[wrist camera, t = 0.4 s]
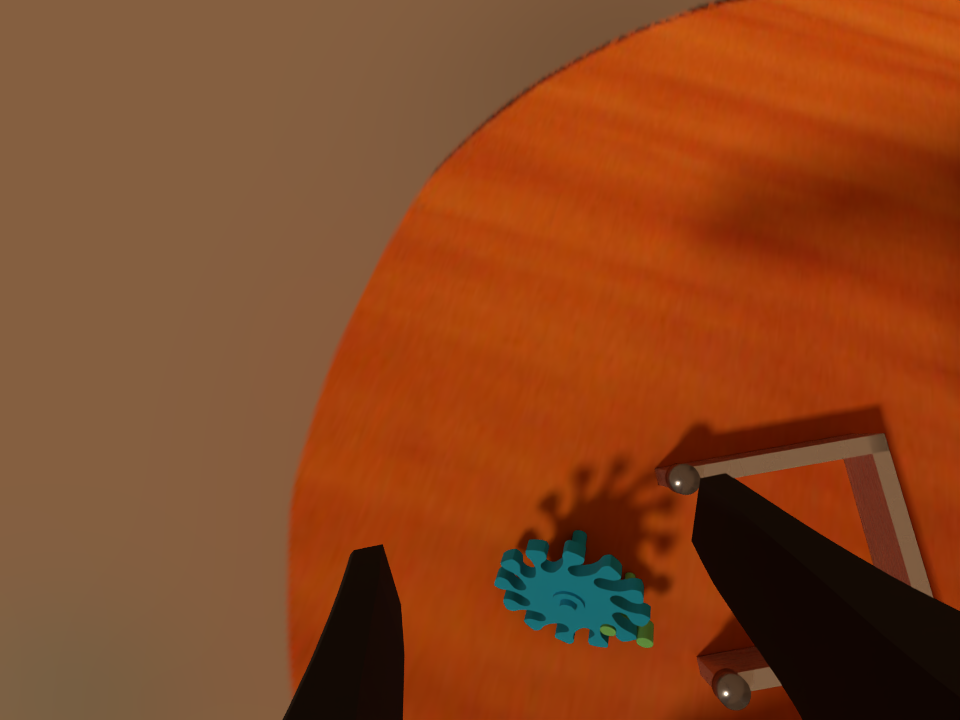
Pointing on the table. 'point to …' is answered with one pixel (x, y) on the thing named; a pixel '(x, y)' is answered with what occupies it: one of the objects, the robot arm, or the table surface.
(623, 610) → the teal cogwheel
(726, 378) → the table surface
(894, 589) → the robot arm
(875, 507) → the frame
